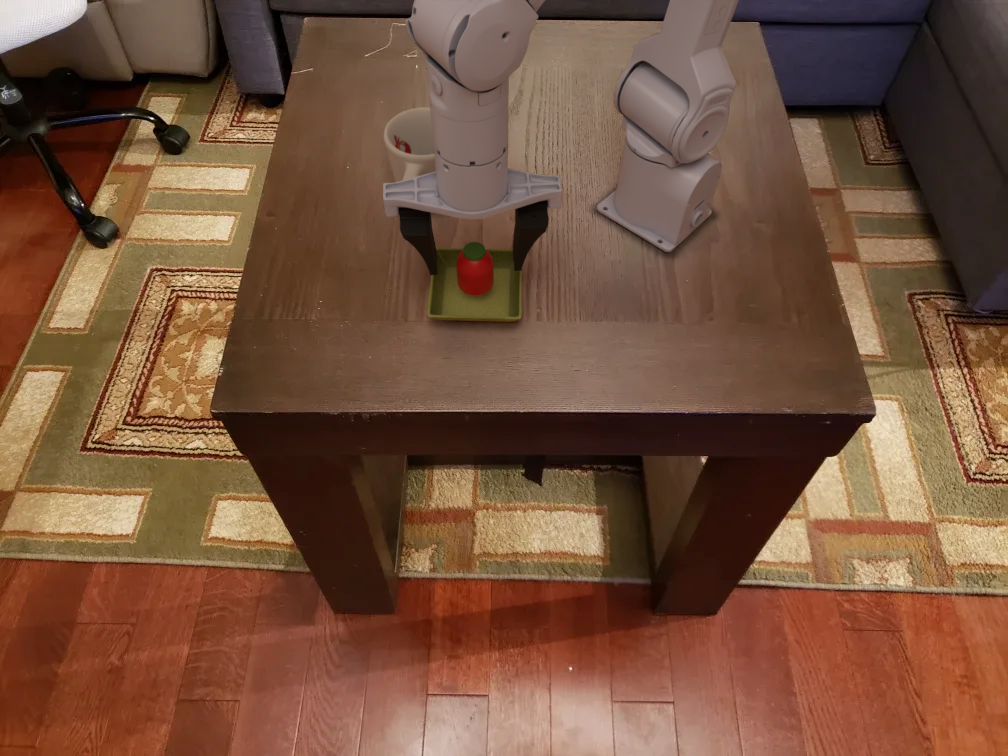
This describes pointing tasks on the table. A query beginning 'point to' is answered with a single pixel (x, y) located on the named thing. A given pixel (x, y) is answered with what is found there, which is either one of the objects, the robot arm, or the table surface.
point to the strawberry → (475, 269)
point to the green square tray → (489, 306)
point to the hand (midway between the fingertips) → (475, 264)
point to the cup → (410, 143)
